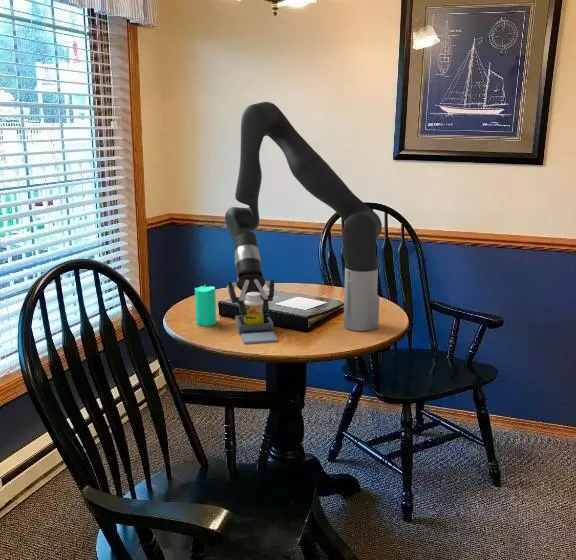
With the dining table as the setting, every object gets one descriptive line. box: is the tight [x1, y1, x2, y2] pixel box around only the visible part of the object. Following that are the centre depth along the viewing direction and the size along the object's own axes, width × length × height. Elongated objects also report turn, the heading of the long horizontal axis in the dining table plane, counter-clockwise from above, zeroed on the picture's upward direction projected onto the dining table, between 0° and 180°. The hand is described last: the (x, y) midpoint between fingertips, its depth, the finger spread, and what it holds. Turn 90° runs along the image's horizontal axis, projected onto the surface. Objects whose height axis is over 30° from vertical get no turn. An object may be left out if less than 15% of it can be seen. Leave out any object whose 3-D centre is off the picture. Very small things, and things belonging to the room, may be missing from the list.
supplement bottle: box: [243, 292, 264, 325], centre depth 168 cm, size 6×6×10 cm
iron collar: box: [234, 314, 275, 336], centre depth 169 cm, size 10×10×2 cm
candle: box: [194, 285, 217, 327], centre depth 173 cm, size 6×6×12 cm
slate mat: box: [240, 332, 278, 345], centre depth 160 cm, size 9×7×1 cm
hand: (254, 313), depth 167 cm, fingers closed on supplement bottle, 5 cm apart
